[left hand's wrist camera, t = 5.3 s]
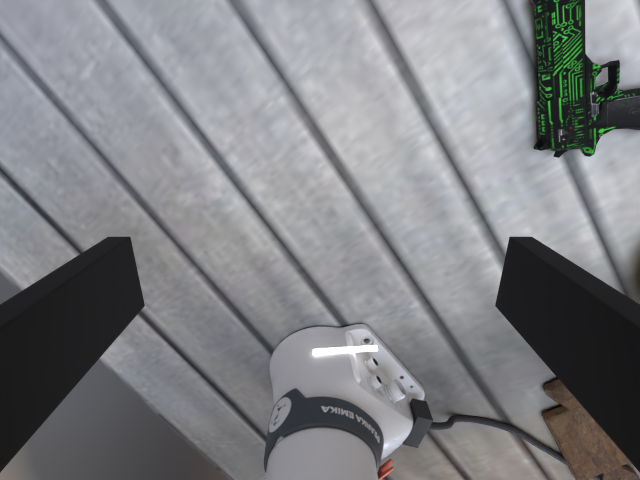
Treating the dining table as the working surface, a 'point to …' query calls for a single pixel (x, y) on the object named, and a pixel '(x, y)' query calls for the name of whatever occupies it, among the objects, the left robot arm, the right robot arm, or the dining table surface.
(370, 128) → the dining table surface
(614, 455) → the brown notched plank
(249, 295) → the dining table surface
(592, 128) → the handgun
